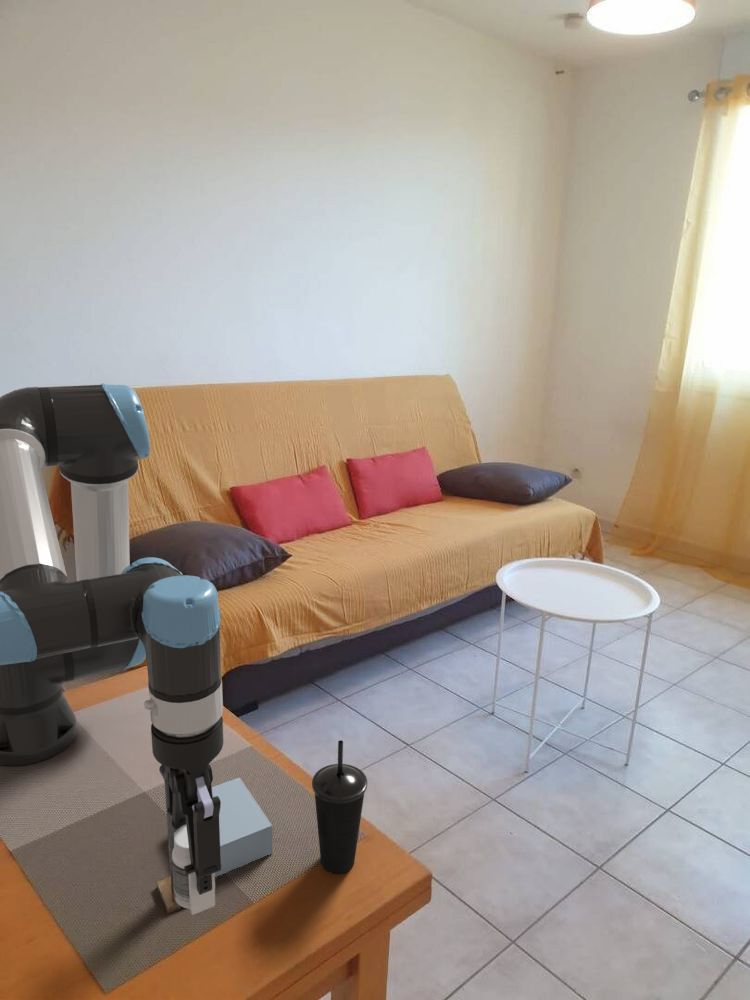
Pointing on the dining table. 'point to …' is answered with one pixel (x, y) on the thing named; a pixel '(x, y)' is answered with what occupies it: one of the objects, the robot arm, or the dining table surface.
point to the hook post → (167, 883)
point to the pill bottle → (181, 867)
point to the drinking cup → (338, 812)
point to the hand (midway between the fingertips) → (195, 890)
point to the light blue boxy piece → (241, 826)
